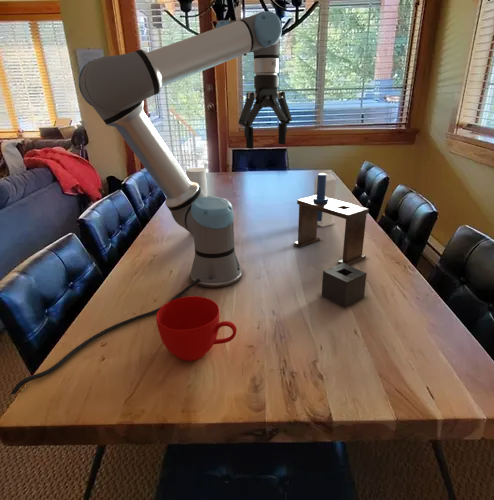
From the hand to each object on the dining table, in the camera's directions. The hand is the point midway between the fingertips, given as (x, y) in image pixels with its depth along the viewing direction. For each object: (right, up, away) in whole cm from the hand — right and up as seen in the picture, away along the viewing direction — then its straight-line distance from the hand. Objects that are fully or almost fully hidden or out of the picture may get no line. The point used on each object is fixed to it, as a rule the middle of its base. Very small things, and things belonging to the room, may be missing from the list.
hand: (266, 146), depth 122 cm
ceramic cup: (-16, -56, -42) cm, 72 cm away
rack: (+22, -35, +7) cm, 41 cm away
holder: (+20, -47, -21) cm, 55 cm away
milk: (+25, -23, +33) cm, 47 cm away
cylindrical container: (-25, -28, +25) cm, 45 cm away
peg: (+18, -17, +3) cm, 26 cm away
